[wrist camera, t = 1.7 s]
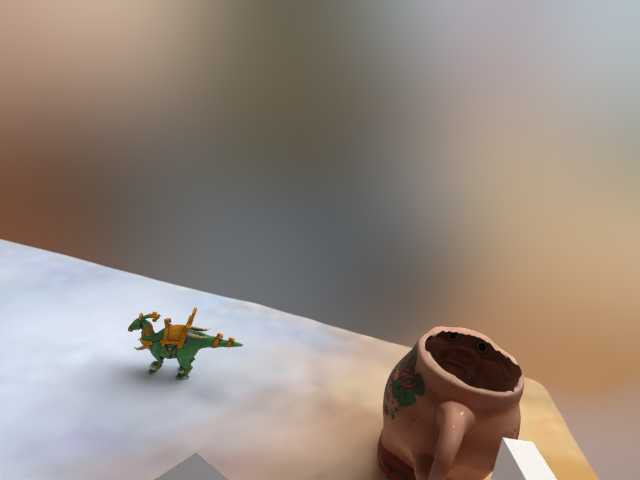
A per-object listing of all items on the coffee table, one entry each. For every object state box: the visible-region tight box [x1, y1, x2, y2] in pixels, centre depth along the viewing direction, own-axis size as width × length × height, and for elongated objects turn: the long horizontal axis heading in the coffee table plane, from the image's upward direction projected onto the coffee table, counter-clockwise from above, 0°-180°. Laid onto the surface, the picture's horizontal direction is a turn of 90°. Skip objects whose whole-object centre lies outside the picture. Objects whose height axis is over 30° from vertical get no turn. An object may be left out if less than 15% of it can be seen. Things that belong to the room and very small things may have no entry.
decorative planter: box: [378, 327, 524, 480], centre depth 48 cm, size 20×12×14 cm, turn 166°
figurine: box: [128, 307, 243, 380], centre depth 55 cm, size 3×12×8 cm, turn 94°
